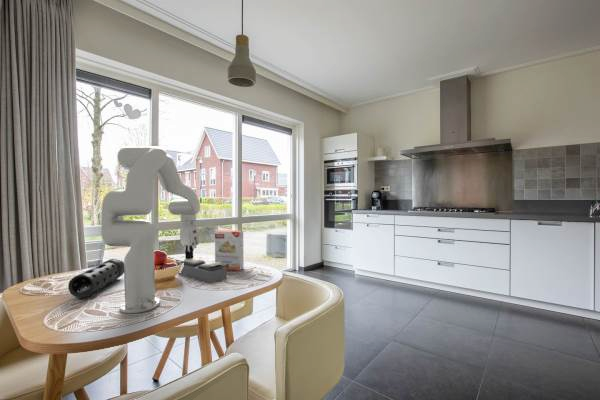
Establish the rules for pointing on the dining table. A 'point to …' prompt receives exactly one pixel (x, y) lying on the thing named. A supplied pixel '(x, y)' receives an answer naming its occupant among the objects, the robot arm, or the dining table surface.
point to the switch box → (204, 272)
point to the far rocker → (193, 260)
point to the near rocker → (210, 264)
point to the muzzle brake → (95, 278)
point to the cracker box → (229, 249)
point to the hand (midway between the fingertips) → (189, 258)
